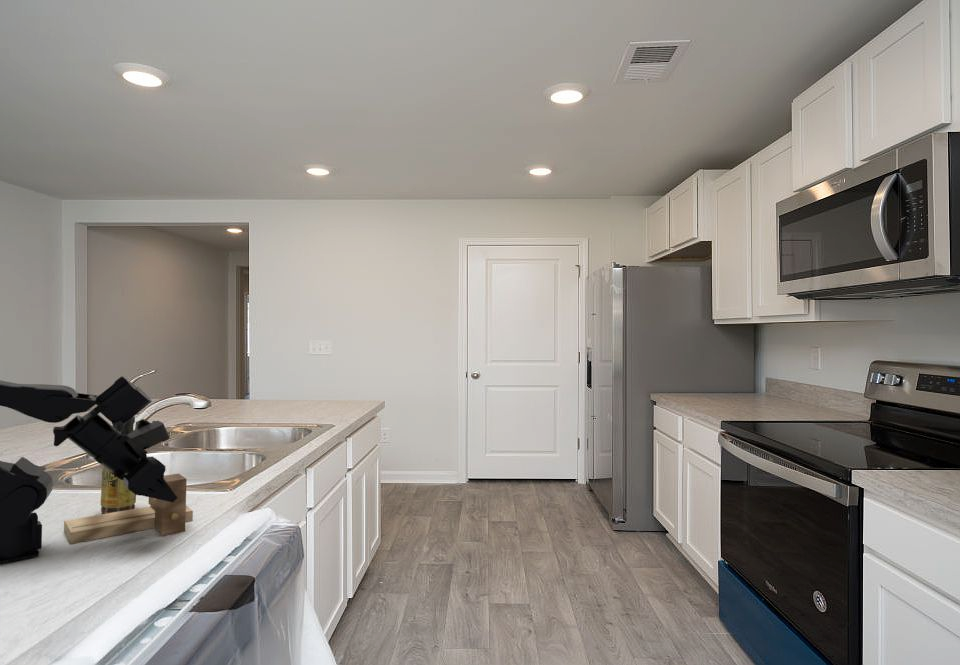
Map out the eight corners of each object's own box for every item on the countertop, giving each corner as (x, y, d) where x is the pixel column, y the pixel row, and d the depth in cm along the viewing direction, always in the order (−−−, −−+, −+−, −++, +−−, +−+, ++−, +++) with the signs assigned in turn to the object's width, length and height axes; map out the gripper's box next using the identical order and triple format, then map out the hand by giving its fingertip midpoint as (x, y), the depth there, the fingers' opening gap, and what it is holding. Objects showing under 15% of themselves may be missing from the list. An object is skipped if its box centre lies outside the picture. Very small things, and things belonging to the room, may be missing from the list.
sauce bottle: (94, 512, 117) (97, 415, 117) (125, 505, 122) (129, 413, 123) (110, 518, 114) (114, 418, 114) (142, 511, 119) (146, 415, 119)
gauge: (162, 537, 105) (164, 482, 105) (142, 516, 116) (143, 467, 116) (186, 532, 108) (187, 479, 108) (163, 512, 119) (165, 464, 119)
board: (70, 543, 101) (70, 532, 101) (63, 531, 106) (64, 520, 106) (192, 520, 114) (192, 510, 114) (180, 510, 120) (180, 500, 120)
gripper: (154, 414, 98) (218, 470, 106) (128, 402, 112) (186, 452, 119) (98, 465, 93) (169, 520, 100) (77, 446, 106) (141, 496, 114)
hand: (168, 494), depth 108 cm, fingers open, 9 cm apart
